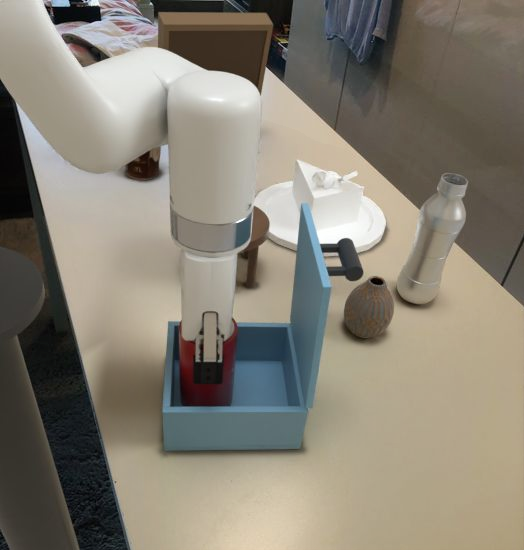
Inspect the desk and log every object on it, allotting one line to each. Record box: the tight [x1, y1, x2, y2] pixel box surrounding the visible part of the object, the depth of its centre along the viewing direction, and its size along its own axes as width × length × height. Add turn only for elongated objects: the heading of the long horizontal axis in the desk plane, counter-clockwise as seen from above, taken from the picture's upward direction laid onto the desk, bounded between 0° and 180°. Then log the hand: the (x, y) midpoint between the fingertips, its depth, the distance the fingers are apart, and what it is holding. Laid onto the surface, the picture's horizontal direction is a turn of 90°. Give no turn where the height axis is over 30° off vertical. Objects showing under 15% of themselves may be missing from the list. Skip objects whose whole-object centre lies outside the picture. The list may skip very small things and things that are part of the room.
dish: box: [254, 158, 387, 257], centre depth 99 cm, size 25×25×11 cm
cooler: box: [161, 320, 309, 452], centre depth 66 cm, size 16×15×7 cm
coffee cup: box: [125, 146, 162, 181], centre depth 106 cm, size 9×8×13 cm
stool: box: [239, 206, 270, 289], centre depth 86 cm, size 13×13×9 cm
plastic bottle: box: [396, 172, 469, 305], centre depth 81 cm, size 6×7×20 cm
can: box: [179, 317, 238, 407], centre depth 64 cm, size 6×6×12 cm
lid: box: [289, 203, 365, 410], centre depth 59 cm, size 16×15×5 cm
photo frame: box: [157, 11, 274, 97], centre depth 115 cm, size 15×22×25 cm
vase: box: [343, 275, 395, 339], centre depth 78 cm, size 7×7×9 cm
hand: (207, 358), depth 63 cm, fingers closed on can, 6 cm apart
